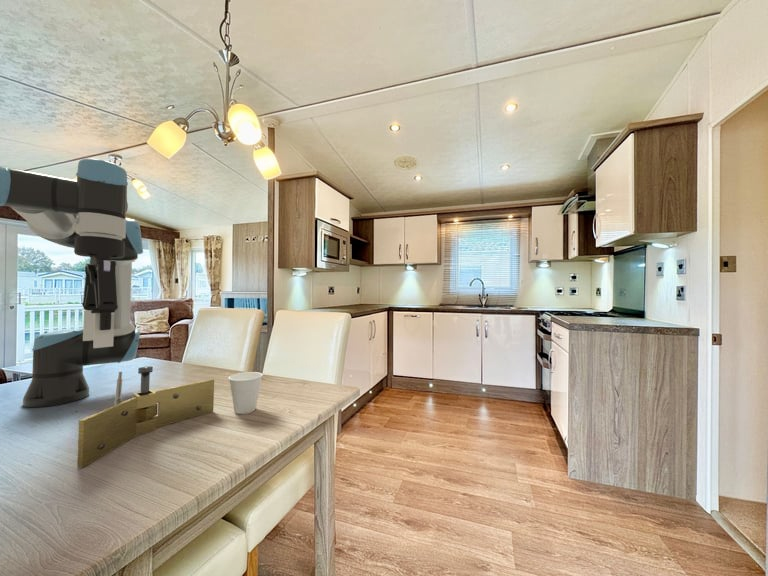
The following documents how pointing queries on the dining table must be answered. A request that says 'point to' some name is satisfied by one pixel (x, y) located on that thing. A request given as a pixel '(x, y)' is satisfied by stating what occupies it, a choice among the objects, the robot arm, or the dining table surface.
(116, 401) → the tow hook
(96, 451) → the moving leaf
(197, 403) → the fixed leaf
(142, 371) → the pin
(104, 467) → the dining table surface
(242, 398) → the cup
